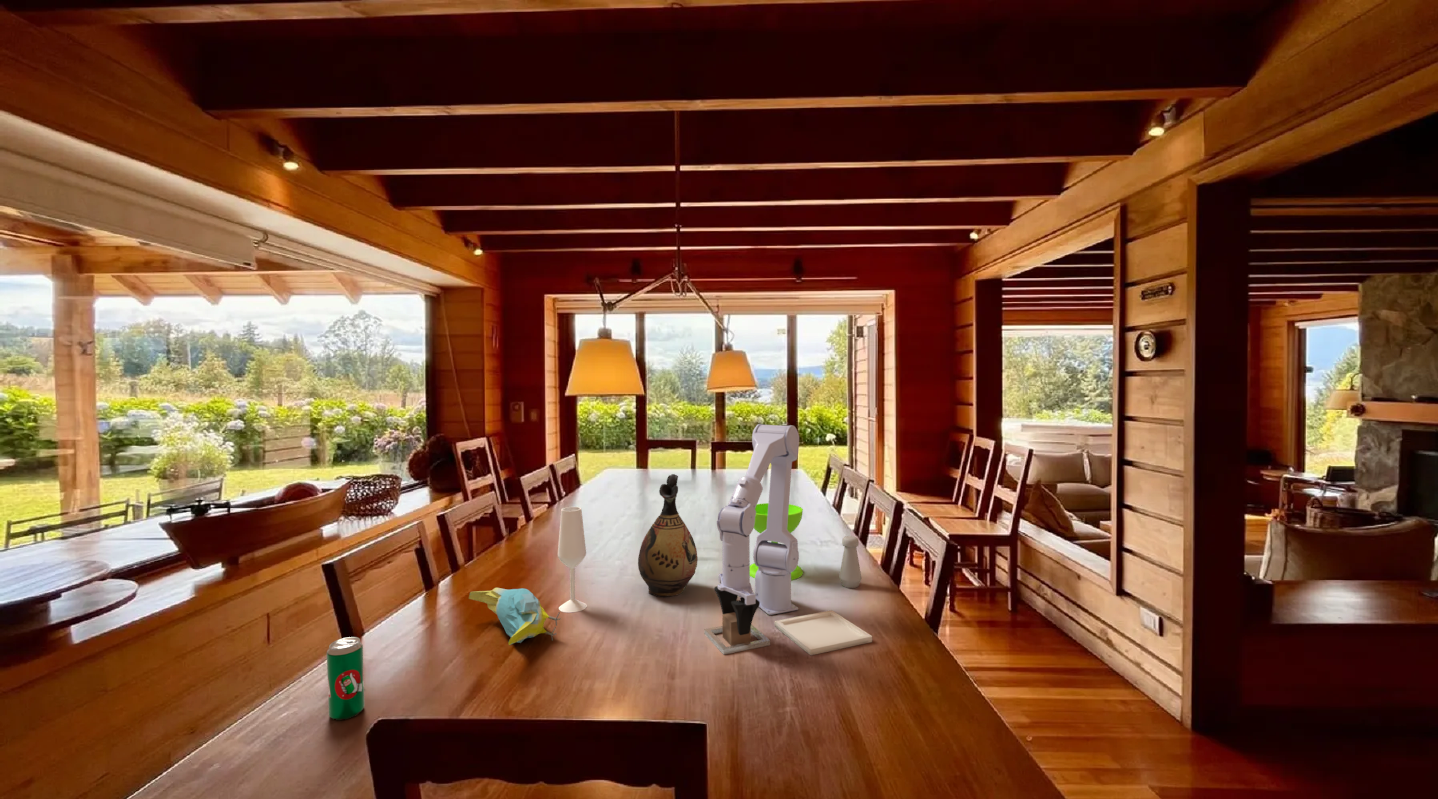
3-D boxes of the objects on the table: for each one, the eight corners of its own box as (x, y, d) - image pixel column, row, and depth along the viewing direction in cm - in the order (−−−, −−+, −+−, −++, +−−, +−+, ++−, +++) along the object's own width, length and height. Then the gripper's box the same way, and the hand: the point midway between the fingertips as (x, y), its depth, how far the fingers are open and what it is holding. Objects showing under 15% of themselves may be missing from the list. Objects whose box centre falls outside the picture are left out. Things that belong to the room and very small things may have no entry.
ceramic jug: (696, 601, 146) (695, 481, 145) (633, 601, 147) (632, 481, 146) (699, 578, 163) (698, 470, 162) (644, 578, 164) (642, 470, 163)
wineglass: (740, 578, 163) (740, 513, 162) (753, 560, 178) (753, 501, 178) (798, 584, 159) (798, 517, 158) (806, 565, 174) (806, 504, 173)
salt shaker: (861, 590, 154) (861, 540, 153) (839, 588, 155) (839, 539, 154) (861, 582, 159) (861, 534, 159) (839, 581, 160) (839, 533, 160)
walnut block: (722, 637, 127) (722, 614, 126) (741, 633, 128) (741, 611, 128) (731, 646, 122) (731, 622, 122) (750, 642, 124) (750, 618, 124)
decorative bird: (530, 608, 143) (529, 570, 143) (579, 654, 119) (578, 609, 118) (470, 622, 135) (469, 582, 135) (509, 675, 111) (507, 627, 110)
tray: (774, 626, 132) (774, 621, 132) (831, 615, 138) (831, 610, 138) (810, 655, 118) (810, 649, 118) (872, 641, 124) (872, 636, 124)
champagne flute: (575, 599, 148) (574, 504, 147) (592, 606, 144) (591, 508, 143) (552, 607, 143) (551, 509, 142) (569, 614, 139) (568, 513, 138)
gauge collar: (704, 633, 128) (704, 629, 128) (748, 625, 132) (748, 621, 132) (723, 654, 119) (723, 649, 118) (770, 645, 123) (770, 640, 123)
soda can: (339, 705, 101) (337, 636, 101) (370, 704, 101) (368, 635, 101) (322, 722, 96) (319, 650, 95) (354, 721, 96) (352, 648, 96)
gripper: (705, 555, 130) (706, 616, 130) (732, 576, 116) (733, 644, 117) (735, 552, 133) (735, 611, 133) (764, 571, 119) (764, 637, 120)
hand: (736, 626), depth 125 cm, fingers open, 7 cm apart
